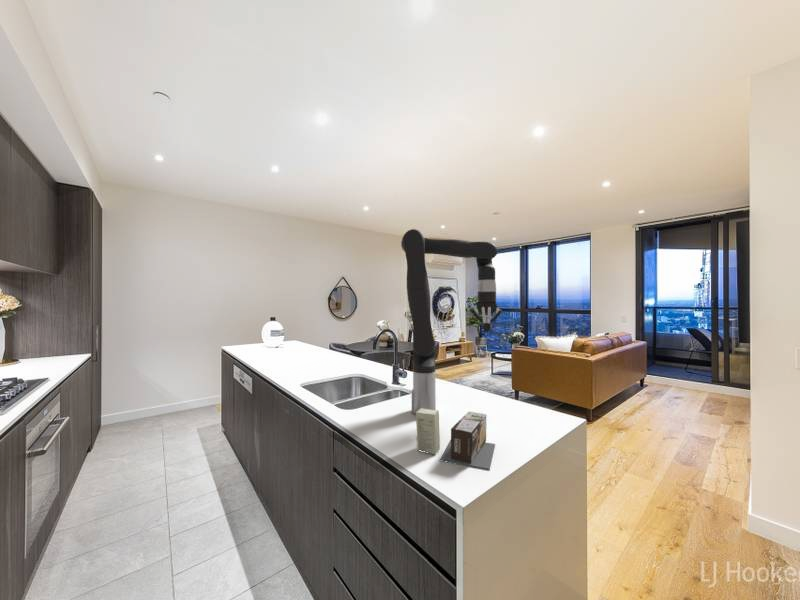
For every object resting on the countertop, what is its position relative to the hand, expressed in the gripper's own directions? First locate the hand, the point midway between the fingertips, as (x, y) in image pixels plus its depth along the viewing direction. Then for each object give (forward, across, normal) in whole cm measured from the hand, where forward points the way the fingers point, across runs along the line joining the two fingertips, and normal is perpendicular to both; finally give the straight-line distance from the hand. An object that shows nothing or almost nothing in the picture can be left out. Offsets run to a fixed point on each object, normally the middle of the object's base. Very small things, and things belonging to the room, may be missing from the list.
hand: (487, 332), depth 134 cm
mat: (+33, -1, -40) cm, 52 cm away
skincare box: (+33, -13, -43) cm, 56 cm away
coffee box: (+28, 0, -31) cm, 42 cm away
